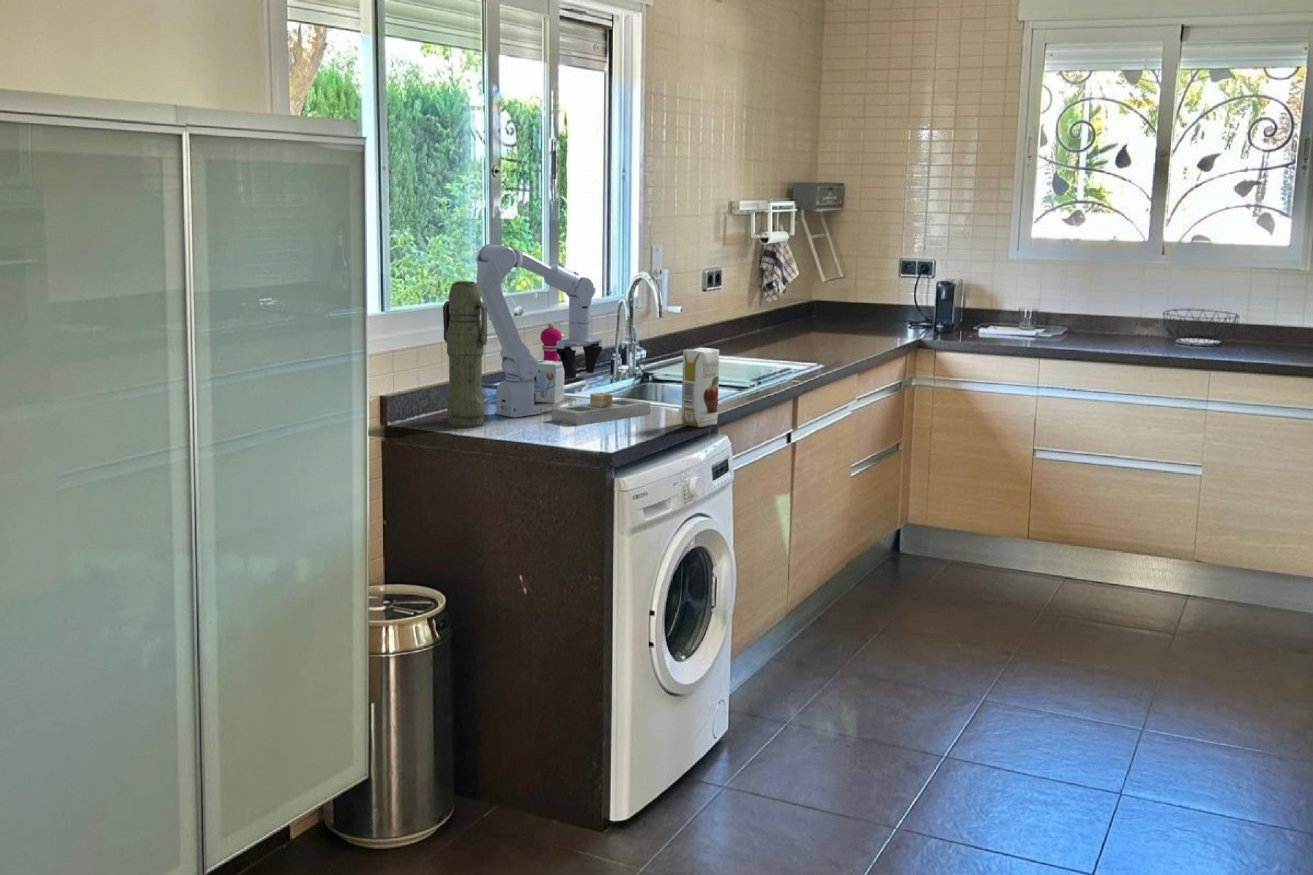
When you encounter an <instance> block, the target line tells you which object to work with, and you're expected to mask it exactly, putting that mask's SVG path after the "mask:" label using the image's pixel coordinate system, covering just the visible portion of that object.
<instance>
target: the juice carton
mask: <svg viewBox="0 0 1313 875" xmlns="http://www.w3.org/2000/svg"><path fill="white" fill-rule="evenodd" d="M682 354H683V355H682V378H681V379H682V380H681V381H682V384H681V385H682V386H681V390H682V391H681V424H682V425H683V426H684V425H685V426H690V427H697V428H704V427H709V426H714V425H717V424H718V410H719V409H718V408H719V381H720V378H719V376H720V375H719V374H720V349H716V348H711V347H710V348H709V347H698V348H697V347H696V348H694V349H683V352H682Z"/></svg>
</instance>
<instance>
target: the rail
mask: <svg viewBox="0 0 1313 875" xmlns="http://www.w3.org/2000/svg"><path fill="white" fill-rule="evenodd" d="M647 415H651V402H648V401H642V400H636V399H631V398H626V397H625V398H617V399H612V407H607V408H597V407H592V406H590V402H589V403H583V404H575V405H567V406H562V407H555V408H551V421H552V422H558V423H562V424H565V425H566V424H567V425H571V426H576V427H577V426H584V425H590V424H597V423H602V422H609V421H610V422H611V421H615V420H623V419H627V418H635V417H641V416H647Z"/></svg>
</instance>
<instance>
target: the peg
mask: <svg viewBox="0 0 1313 875" xmlns="http://www.w3.org/2000/svg"><path fill="white" fill-rule="evenodd" d="M589 396H590V397H589V398H590V400H589V401H590V402H589V403H590V406H592V407H597V408H607V407H612V400H613V394H611V393H606V392H597V393H596V392H595V393H590V395H589Z"/></svg>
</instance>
